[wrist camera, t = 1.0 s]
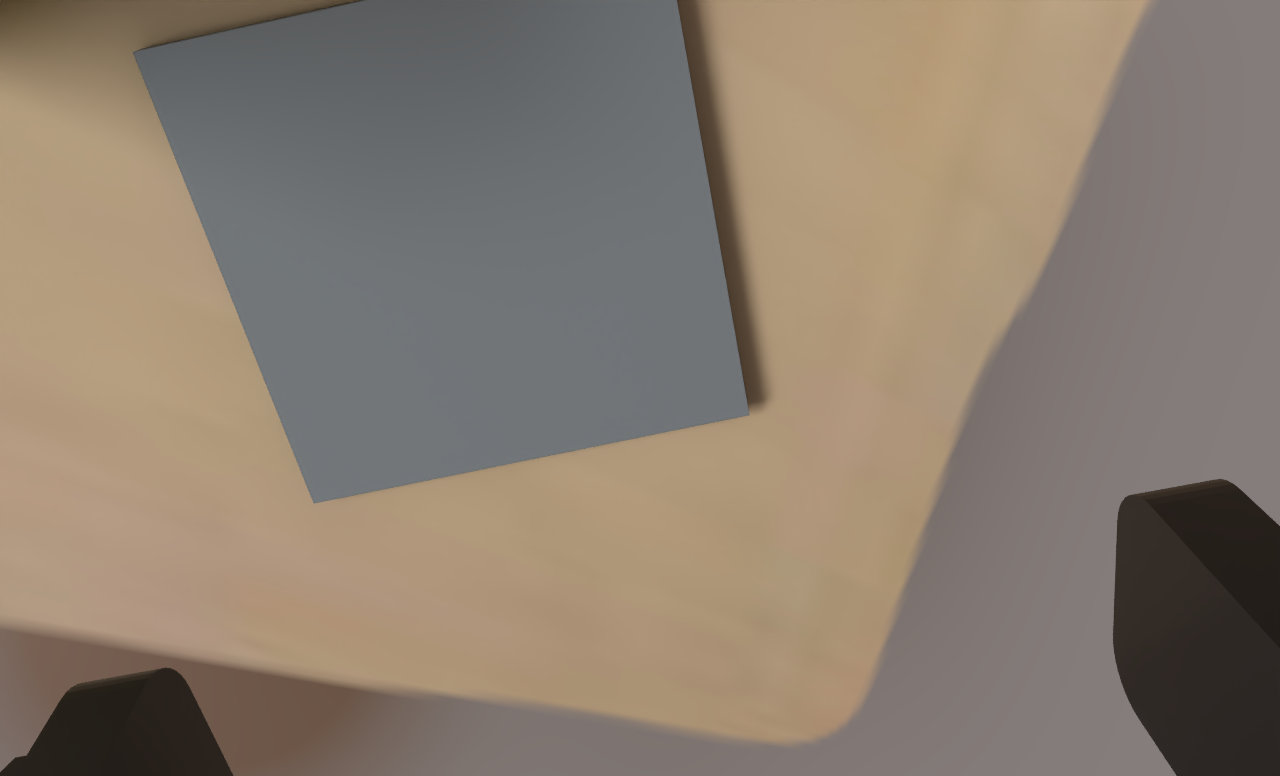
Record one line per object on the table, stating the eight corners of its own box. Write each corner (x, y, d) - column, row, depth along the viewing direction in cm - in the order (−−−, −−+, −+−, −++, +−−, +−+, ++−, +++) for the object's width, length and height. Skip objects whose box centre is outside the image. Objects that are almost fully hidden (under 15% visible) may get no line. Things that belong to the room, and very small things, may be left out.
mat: (141, 48, 27) (132, 52, 27) (663, -67, 27) (665, -66, 26) (317, 493, 34) (313, 503, 33) (746, 406, 33) (749, 415, 32)
